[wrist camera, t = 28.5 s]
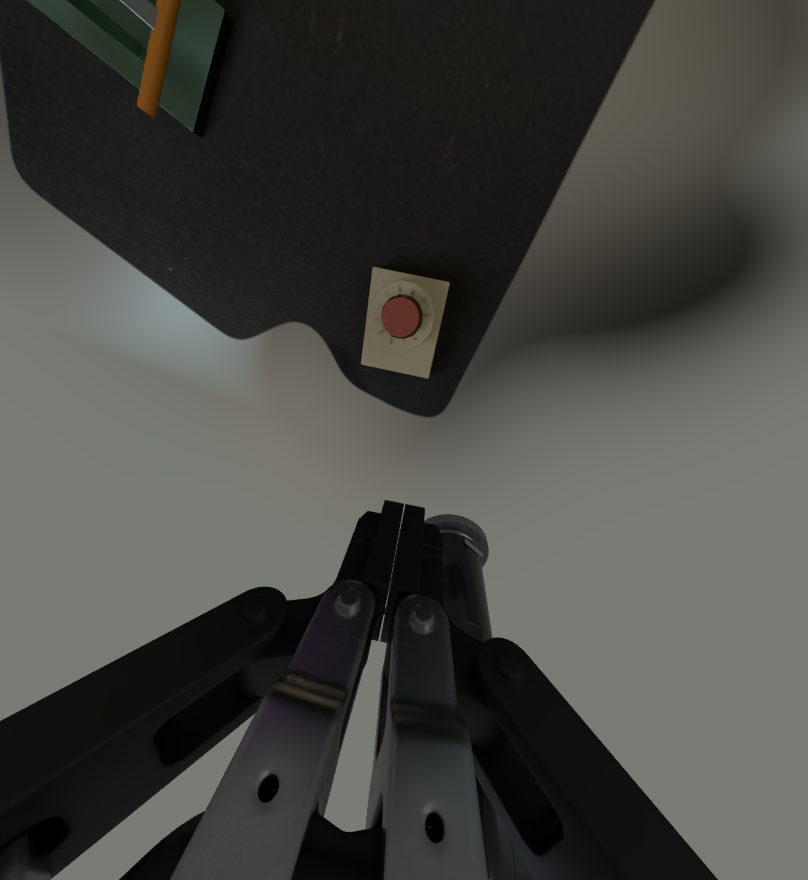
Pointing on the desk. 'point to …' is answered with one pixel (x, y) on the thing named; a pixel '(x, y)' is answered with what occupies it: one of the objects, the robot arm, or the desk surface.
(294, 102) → the desk surface
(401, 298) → the stop button
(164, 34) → the lever
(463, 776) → the robot arm
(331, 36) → the desk surface
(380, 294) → the stop housing
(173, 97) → the switch bracket
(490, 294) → the desk surface
